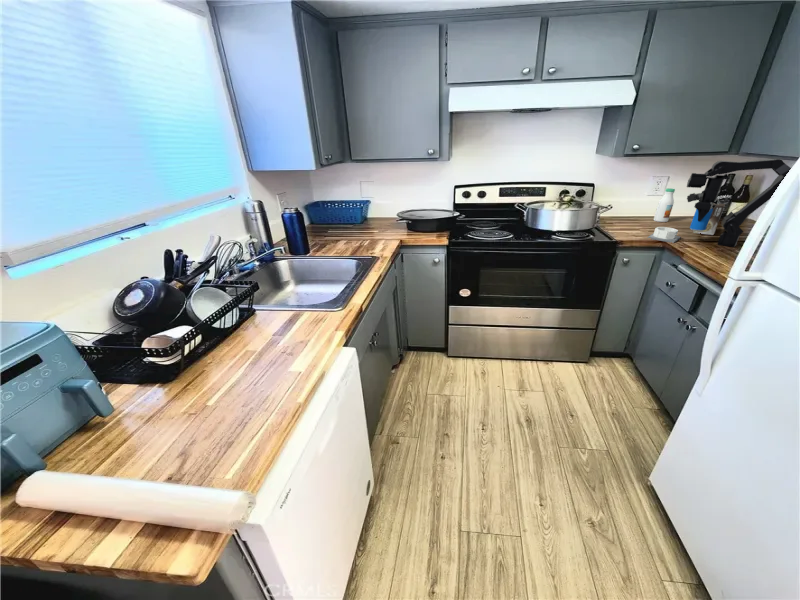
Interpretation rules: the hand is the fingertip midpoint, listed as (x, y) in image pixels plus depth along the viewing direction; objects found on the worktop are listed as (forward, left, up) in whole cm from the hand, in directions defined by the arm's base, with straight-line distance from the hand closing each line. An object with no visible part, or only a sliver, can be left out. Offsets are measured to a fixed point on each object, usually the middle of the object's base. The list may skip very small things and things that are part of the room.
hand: (700, 219), depth 173 cm
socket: (+12, +4, -11) cm, 17 cm away
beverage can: (0, 0, -6) cm, 6 cm away
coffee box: (0, -23, -12) cm, 26 cm away
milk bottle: (+25, -39, -12) cm, 48 cm away
